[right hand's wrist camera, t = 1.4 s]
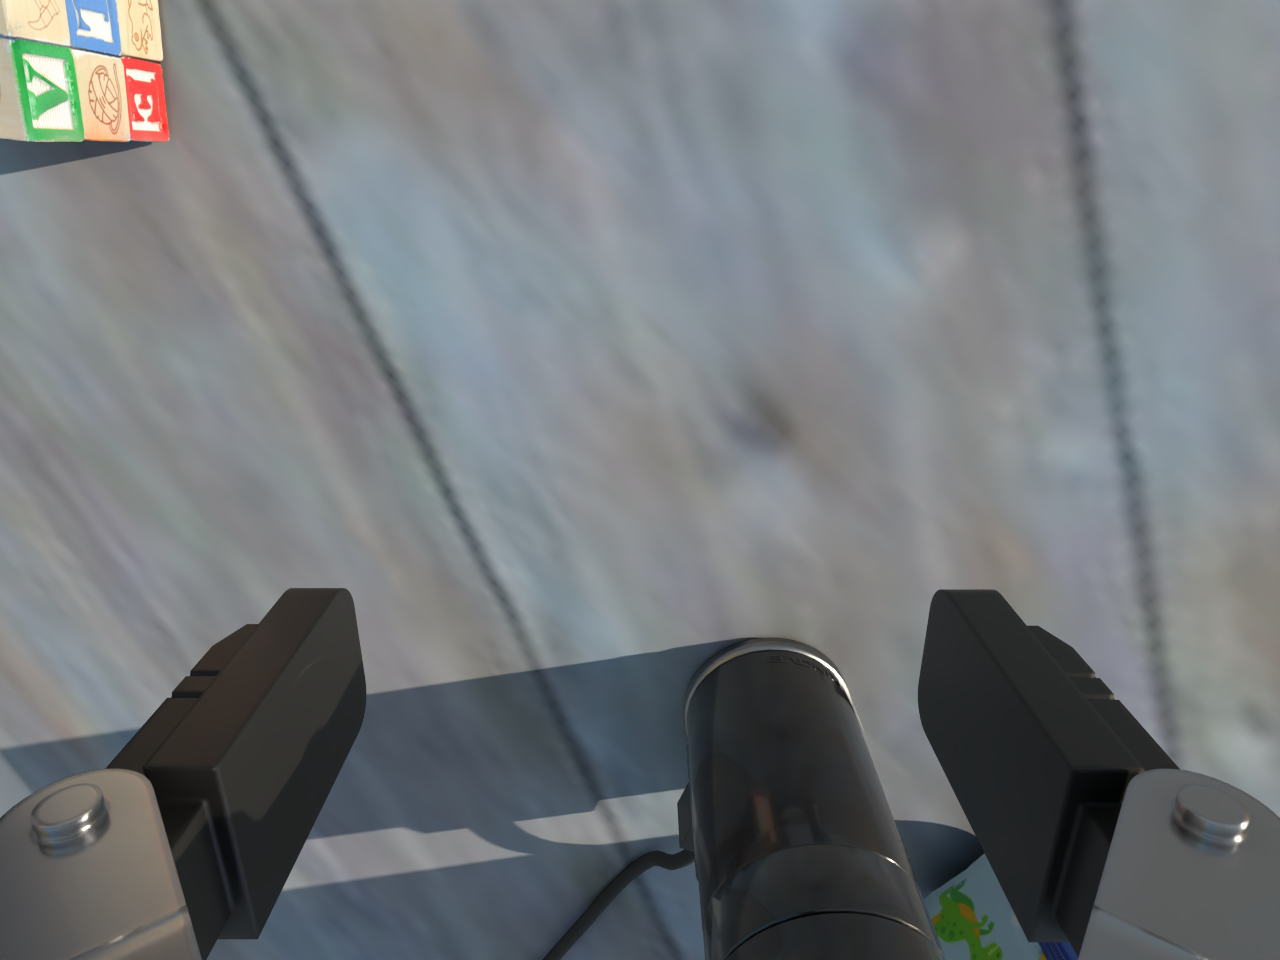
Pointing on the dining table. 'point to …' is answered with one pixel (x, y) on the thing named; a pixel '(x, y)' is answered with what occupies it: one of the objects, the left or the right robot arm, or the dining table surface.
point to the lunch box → (984, 921)
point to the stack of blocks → (81, 71)
